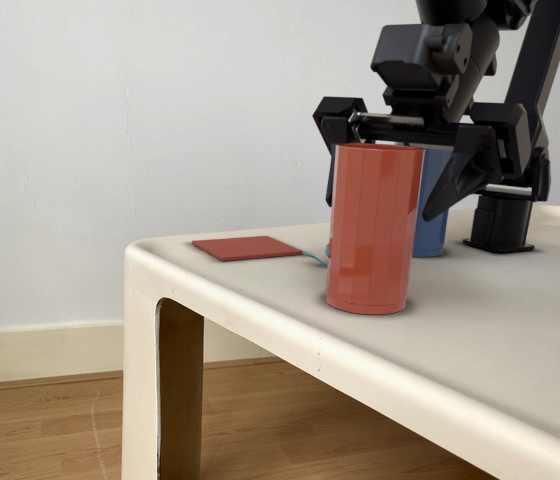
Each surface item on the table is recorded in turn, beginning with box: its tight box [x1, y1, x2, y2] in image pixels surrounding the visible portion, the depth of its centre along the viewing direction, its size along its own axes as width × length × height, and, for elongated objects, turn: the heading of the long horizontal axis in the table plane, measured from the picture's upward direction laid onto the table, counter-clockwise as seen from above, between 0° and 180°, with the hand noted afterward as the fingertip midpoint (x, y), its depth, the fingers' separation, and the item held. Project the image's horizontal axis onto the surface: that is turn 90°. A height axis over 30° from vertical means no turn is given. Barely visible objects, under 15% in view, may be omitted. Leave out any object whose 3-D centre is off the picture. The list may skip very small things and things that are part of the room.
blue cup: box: [393, 142, 453, 258], centre depth 73 cm, size 7×7×13 cm
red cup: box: [325, 143, 425, 316], centre depth 53 cm, size 7×7×13 cm
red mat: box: [191, 235, 304, 262], centre depth 73 cm, size 10×9×1 cm
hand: (374, 210), depth 53 cm, fingers open, 9 cm apart
